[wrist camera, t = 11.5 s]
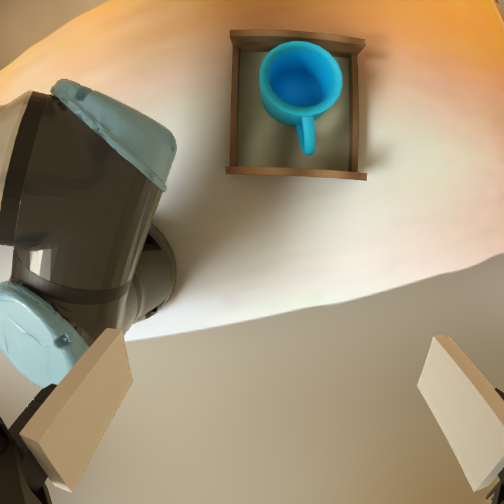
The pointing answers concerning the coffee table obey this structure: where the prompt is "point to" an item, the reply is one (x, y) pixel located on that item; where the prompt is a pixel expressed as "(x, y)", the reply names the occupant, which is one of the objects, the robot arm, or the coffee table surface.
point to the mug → (299, 87)
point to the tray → (284, 136)
